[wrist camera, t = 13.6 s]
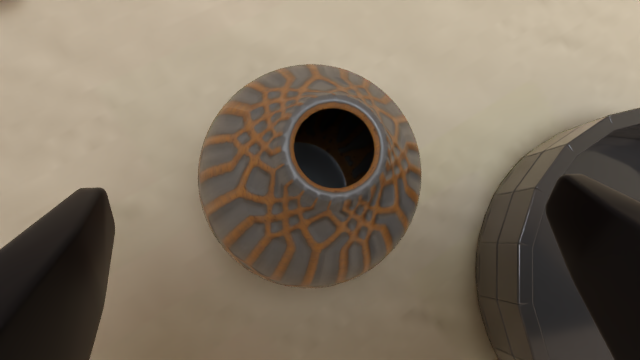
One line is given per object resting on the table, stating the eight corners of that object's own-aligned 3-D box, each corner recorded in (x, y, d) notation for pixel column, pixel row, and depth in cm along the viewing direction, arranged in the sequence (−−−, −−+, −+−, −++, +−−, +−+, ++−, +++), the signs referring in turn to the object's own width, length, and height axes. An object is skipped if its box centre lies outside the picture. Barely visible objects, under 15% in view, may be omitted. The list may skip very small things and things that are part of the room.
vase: (329, 311, 18) (394, 372, 10) (174, 220, 18) (102, 200, 10) (412, 162, 20) (535, 100, 11) (269, 74, 19) (281, -60, 11)
